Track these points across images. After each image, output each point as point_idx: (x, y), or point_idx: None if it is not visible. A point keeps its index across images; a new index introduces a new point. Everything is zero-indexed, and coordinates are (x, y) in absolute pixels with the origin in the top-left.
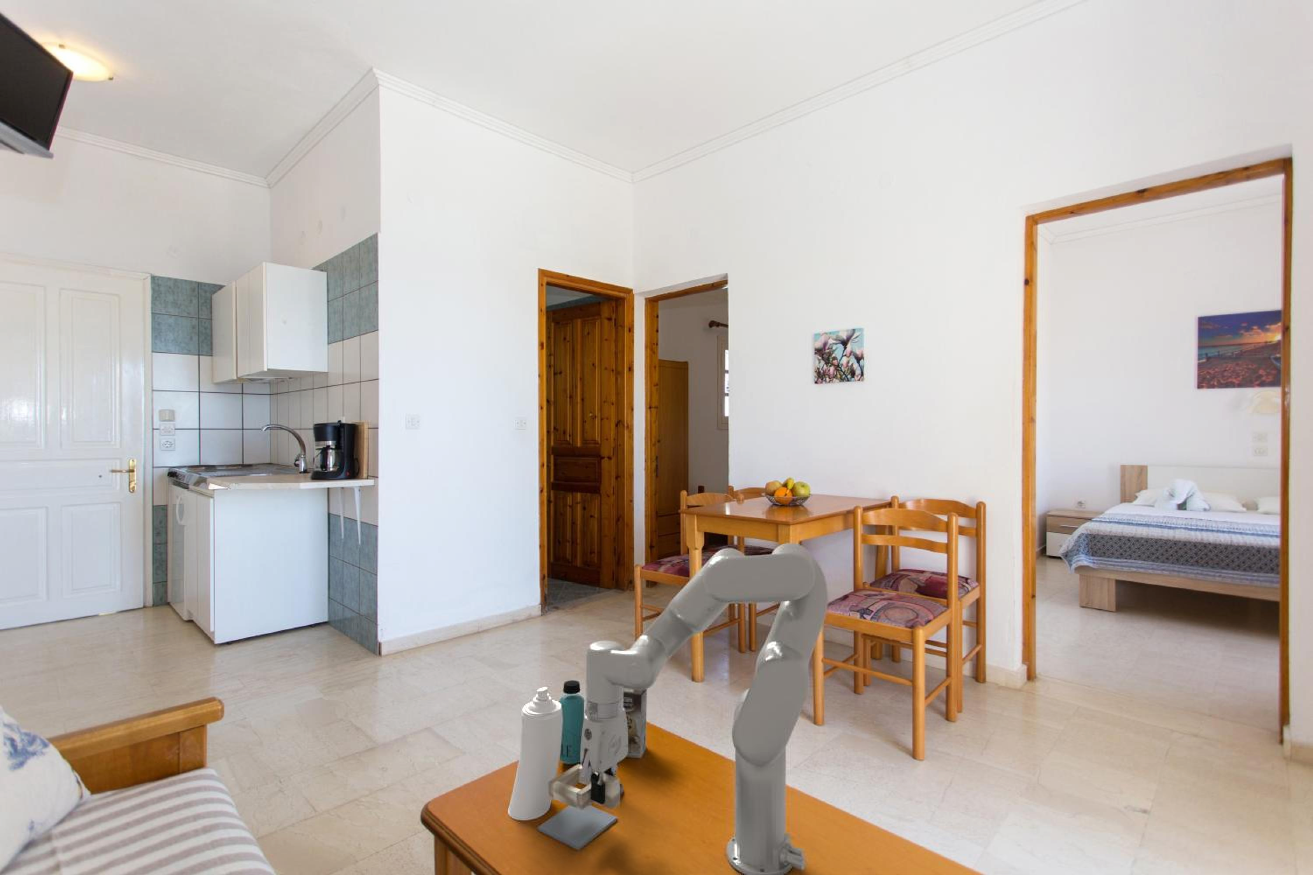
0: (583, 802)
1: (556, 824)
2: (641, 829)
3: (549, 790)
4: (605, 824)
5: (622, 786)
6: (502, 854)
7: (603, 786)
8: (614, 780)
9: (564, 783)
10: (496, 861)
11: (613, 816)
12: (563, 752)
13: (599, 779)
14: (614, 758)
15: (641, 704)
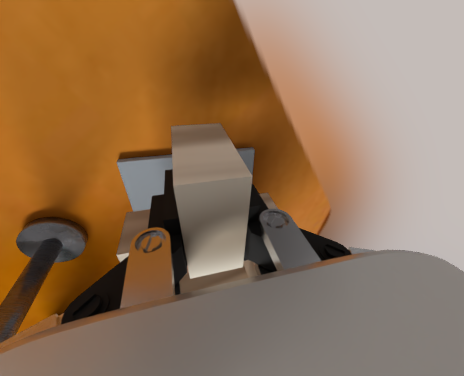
0: (267, 204)
1: None
2: (84, 77)
3: None
4: (160, 162)
5: (19, 236)
6: (309, 215)
7: (256, 199)
8: (212, 189)
9: (224, 283)
10: (323, 210)
11: (122, 170)
12: None
13: (298, 230)
14: (277, 365)
15: None
